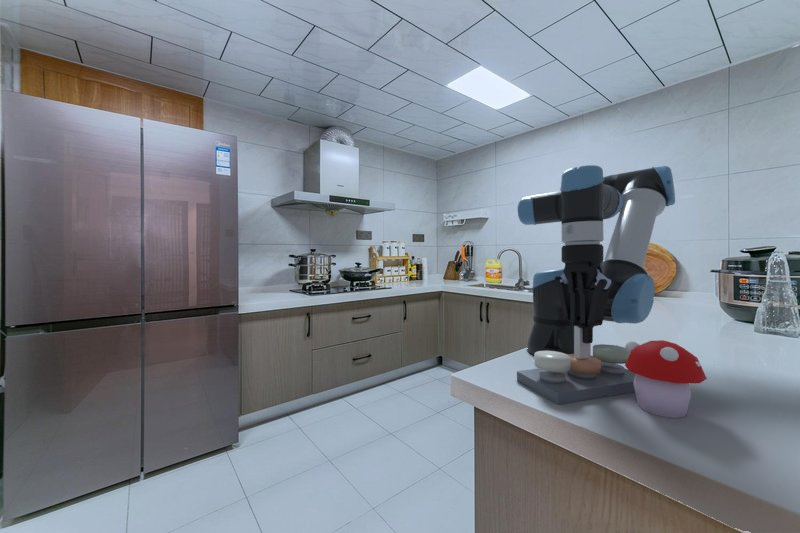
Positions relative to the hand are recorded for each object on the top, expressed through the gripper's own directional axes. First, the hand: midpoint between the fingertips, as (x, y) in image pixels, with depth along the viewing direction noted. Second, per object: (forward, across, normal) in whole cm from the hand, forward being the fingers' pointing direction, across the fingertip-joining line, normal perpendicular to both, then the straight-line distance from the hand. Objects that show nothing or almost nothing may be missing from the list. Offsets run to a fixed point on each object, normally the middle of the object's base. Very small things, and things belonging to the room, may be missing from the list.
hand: (582, 357), depth 66 cm
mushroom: (+6, +13, +4) cm, 15 cm away
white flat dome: (+1, 0, -8) cm, 8 cm away
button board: (+6, 0, 0) cm, 6 cm away
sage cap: (+1, 0, +7) cm, 8 cm away
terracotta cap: (+3, 0, 0) cm, 3 cm away
